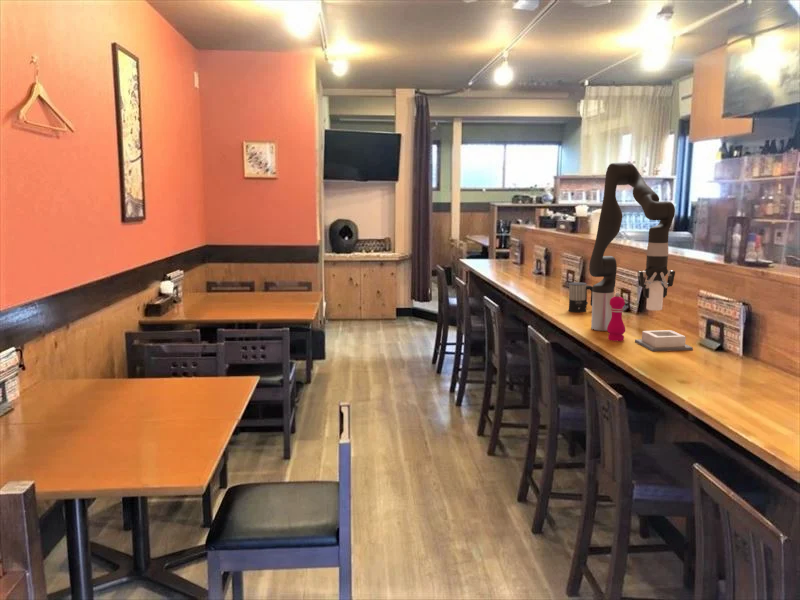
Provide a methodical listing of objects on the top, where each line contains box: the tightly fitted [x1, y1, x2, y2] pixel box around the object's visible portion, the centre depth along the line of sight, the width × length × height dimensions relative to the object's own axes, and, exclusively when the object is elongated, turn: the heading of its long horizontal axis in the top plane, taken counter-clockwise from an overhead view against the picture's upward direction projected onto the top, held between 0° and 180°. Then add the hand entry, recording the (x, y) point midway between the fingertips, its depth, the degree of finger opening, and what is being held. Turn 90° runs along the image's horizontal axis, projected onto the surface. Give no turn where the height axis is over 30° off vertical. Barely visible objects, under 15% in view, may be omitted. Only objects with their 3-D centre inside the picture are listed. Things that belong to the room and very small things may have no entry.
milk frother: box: [568, 281, 593, 313], centre depth 328 cm, size 14×16×15 cm
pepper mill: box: [606, 292, 626, 342], centre depth 258 cm, size 7×7×20 cm
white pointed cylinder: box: [646, 280, 664, 311], centre depth 238 cm, size 6×12×6 cm
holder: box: [634, 329, 694, 352], centre depth 247 cm, size 16×16×5 cm
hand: (654, 297), depth 239 cm, fingers closed on white pointed cylinder, 6 cm apart
